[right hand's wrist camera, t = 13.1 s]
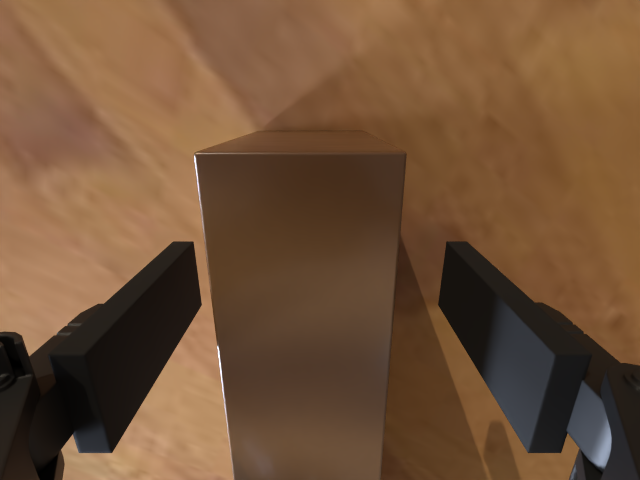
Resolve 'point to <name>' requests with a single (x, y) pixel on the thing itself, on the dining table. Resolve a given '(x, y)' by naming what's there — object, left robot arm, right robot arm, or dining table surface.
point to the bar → (303, 297)
